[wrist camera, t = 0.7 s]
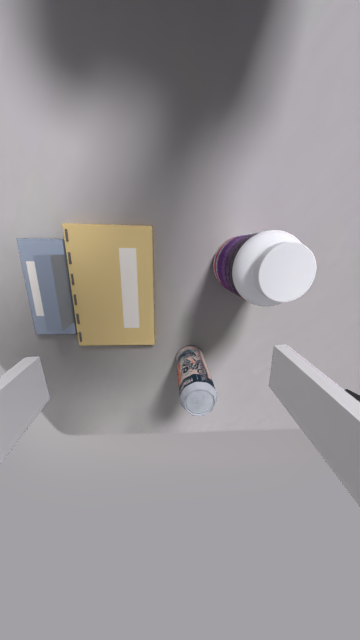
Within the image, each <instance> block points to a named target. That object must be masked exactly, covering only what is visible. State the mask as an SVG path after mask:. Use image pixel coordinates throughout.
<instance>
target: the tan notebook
mask: <svg viewBox="0 0 360 640" xmlns="http://www.w3.org/2000/svg"><path fill="white" fill-rule="evenodd" d="M62 226H63V233H64V240H65V247H66V255H67V262H68V269H69V276H70V283H71V290H72V298H73V305H74V312H75V319H76V326H77V334H78V341H79V346H84V345H154V344H155V328H154V279H153V230H152V226H147V225H107V224H67V223H62Z"/></svg>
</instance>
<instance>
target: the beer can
mask: <svg viewBox="0 0 360 640" xmlns="http://www.w3.org/2000/svg"><path fill="white" fill-rule="evenodd" d="M176 362H177V372H178V382H179V392H180V402H181V405H182V407H183V408H184V409H185V410H186V411H187V412H189V413H190V414H192V415H195V416H203V415H205V414H207V413H209V412H211V411H212V409H213V407H214V406H215V403H216V401H217V392H216V390H215V387H214V384H213V382H212V379H211V376H210V373H209V370H208V368H207V365H206V362H205V359H204V356H203V353H202V351H201V350H200V349H199V348H197V347H194V346H186V347H184V348H182V349H181V350H180V351H179V352H178V353H177V356H176Z"/></svg>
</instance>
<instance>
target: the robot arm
mask: <svg viewBox="0 0 360 640" xmlns="http://www.w3.org/2000/svg"><path fill="white" fill-rule="evenodd" d="M269 387H270V388H271V390H272V391H273V392H274V394H275V395H276V396H277V398H278V399H279V400H280V402H281V403H282V404H283V405H284V407H285V408H286V409H287V411H288V412H289V413H290V415H291V416H292V417H293V419H294V420H295V421H296V423H297V424H298V425H299V427H300V428H301V429H302V431H303V432H304V433H305V435H306V436H307V437H308V438H309V440H310V441H311V442H312V444H313V445H314V446H315V448H316V449H317V450H318V452H319V453H320V454H321V456H322V457H323V458H324V459H325V461H326V462H327V464H328V465H329V466H330V468H331V469H332V470H333V472H334V473H335V474H336V476H337V477H338V478H339V480H340V481H341V482H342V484H343V485H344V486H345V487H346V489H347V490H348V491H349V493H350V494H351V495H352V497H353V498H354V499H355V501H356V502H357V503H358V505H359V506H360V395H358V394H356V393H354V392H352V391H350V390H348V389H346V390H344V389H342V388H341V387H340V386H338V385H337V384H336V383H335V382H333V381H332V380H331V379H330V378H328V377H327V376H326V375H325V374H323V373H322V372H321V371H319V370H318V369H317V368H316V367H314V366H313V365H312V364H311V363H309V362H308V361H307V360H305V359H304V358H303V357H302V356H300V355H299V354H298V353H297V352H295V351H294V350H293V349H292V348H290V347H289V346H288V345H274V348H273V356H272V364H271V372H270V380H269ZM49 400H50V397H49V393H48V389H47V385H46V381H45V377H44V373H43V369H42V364H41V360H40V357H25V358H23V359H22V360H21V361H20V362H18V363H17V364H16V365H14V366H13V367H12V368H10V369H9V370H8V371H7V372H5V373H4V374H3V375H1V376H0V463H1V462H2V461H3V459H4V458H5V457H6V456H7V454H8V453H9V452H10V450H11V449H12V448H13V447H14V445H15V444H16V442H17V441H18V440H19V439H20V437H21V436H22V435H23V433H24V432H25V431H26V429H27V428H28V427H29V425H30V424H31V423H32V422H33V420H34V419H35V418H36V417H37V415H38V414H39V413H40V411H41V410H42V409H43V407H44V406H45V405H46V403H47V402H48V401H49Z"/></svg>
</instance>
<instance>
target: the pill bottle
mask: <svg viewBox="0 0 360 640" xmlns="http://www.w3.org/2000/svg"><path fill="white" fill-rule="evenodd" d="M213 268H214V273H215V276H216V278H217V280H218V281H219V283H220V284H221V285H222V286H224V287H225V288H227V289H228V290H230V291H232V292H233V293H235V294H237V295H238V296H240V297H242V298H243V299H245V300H246V301H248V302H250V303H252V304H254V305H258V306H274V305H277V304H280V303H282V302H289V301H292V300H295V299H297V298H299V297H300V296H302V295H303V294H304V293H305V292H306V291H307V290H308V289H309V288H310V286H311V285H312V283H313V281H314V278H315V275H316V260H315V257H314V255H313V253H312V252H311V250H310V249H309V248H308V247H306V246H305V245H303V244H301V242H300V241H299V240H298V239H297V238H296V237H295V236H293V235H291V234H290V233H287V232H284V231H280V230H269V231H264V232H259V233H253V234H247V235H241V236H236V237H233V238H230V239H228V240H227V241H225V242H224V243H223V244H222V245H221V246H220V248H219V249H218V251H217V252H216V255H215V258H214V263H213Z"/></svg>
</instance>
